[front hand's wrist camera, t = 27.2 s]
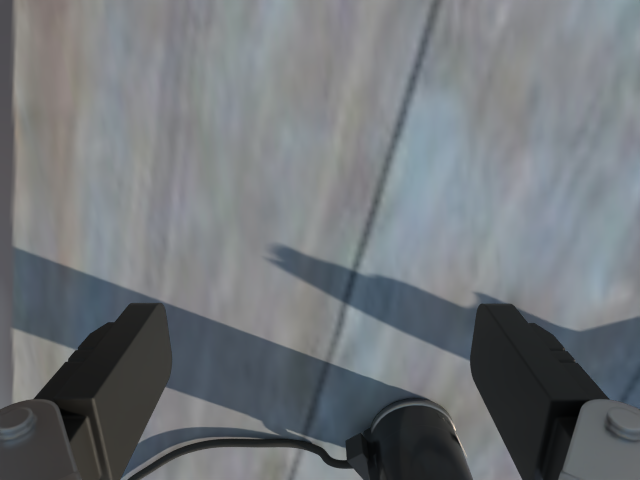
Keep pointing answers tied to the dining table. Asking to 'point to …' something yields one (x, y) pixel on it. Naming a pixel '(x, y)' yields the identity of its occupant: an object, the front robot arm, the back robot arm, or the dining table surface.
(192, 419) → the dining table surface
